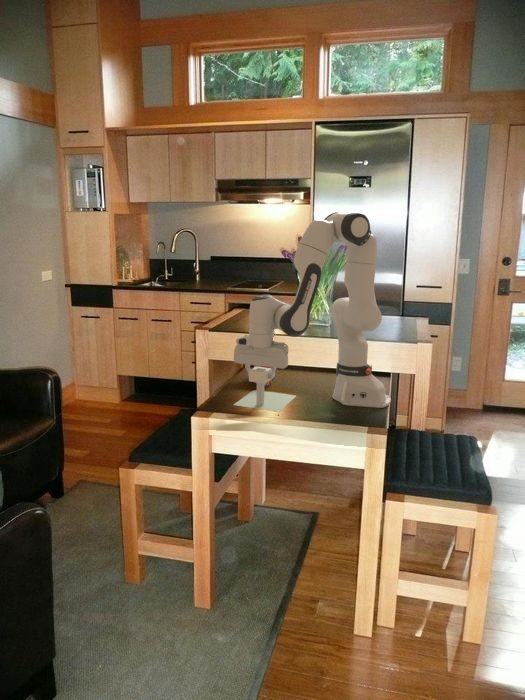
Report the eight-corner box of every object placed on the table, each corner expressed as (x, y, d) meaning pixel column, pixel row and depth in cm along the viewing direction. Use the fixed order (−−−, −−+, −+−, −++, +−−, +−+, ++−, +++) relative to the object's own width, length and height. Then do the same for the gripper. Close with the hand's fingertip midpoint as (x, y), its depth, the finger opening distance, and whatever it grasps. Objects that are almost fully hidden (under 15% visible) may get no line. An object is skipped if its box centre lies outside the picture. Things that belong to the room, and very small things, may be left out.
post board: (296, 399, 215) (297, 373, 212) (278, 415, 197) (279, 387, 194) (253, 393, 221) (254, 368, 219) (233, 408, 203) (233, 381, 201)
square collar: (271, 378, 203) (272, 368, 202) (265, 383, 198) (265, 372, 197) (255, 376, 206) (255, 366, 205) (248, 381, 200) (249, 370, 199)
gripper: (291, 341, 197) (290, 378, 200) (239, 335, 205) (238, 371, 208) (285, 344, 192) (284, 383, 195) (231, 339, 199) (231, 376, 202)
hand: (260, 377), depth 201 cm, fingers closed on square collar, 6 cm apart
